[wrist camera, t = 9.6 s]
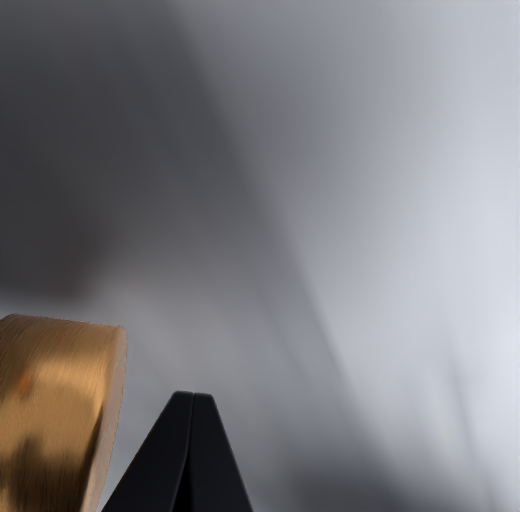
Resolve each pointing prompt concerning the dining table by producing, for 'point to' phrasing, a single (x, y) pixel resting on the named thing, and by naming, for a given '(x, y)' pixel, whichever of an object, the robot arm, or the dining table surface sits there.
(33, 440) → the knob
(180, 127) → the dining table surface
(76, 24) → the dining table surface
